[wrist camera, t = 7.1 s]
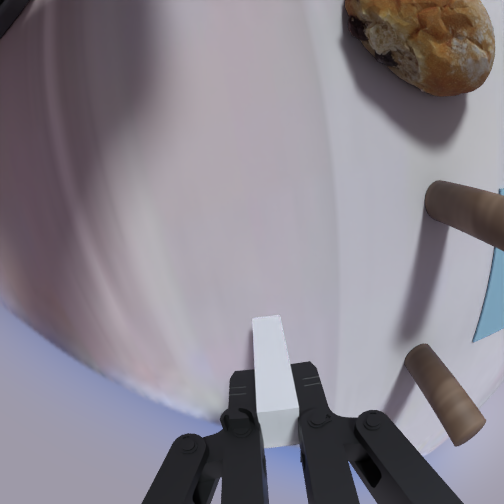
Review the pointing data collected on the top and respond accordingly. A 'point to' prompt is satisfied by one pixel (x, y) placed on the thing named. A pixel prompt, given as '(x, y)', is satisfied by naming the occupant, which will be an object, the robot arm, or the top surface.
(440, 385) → the post
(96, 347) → the top surface
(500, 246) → the post
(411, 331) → the top surface
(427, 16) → the bread roll
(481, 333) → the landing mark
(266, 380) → the robot arm
